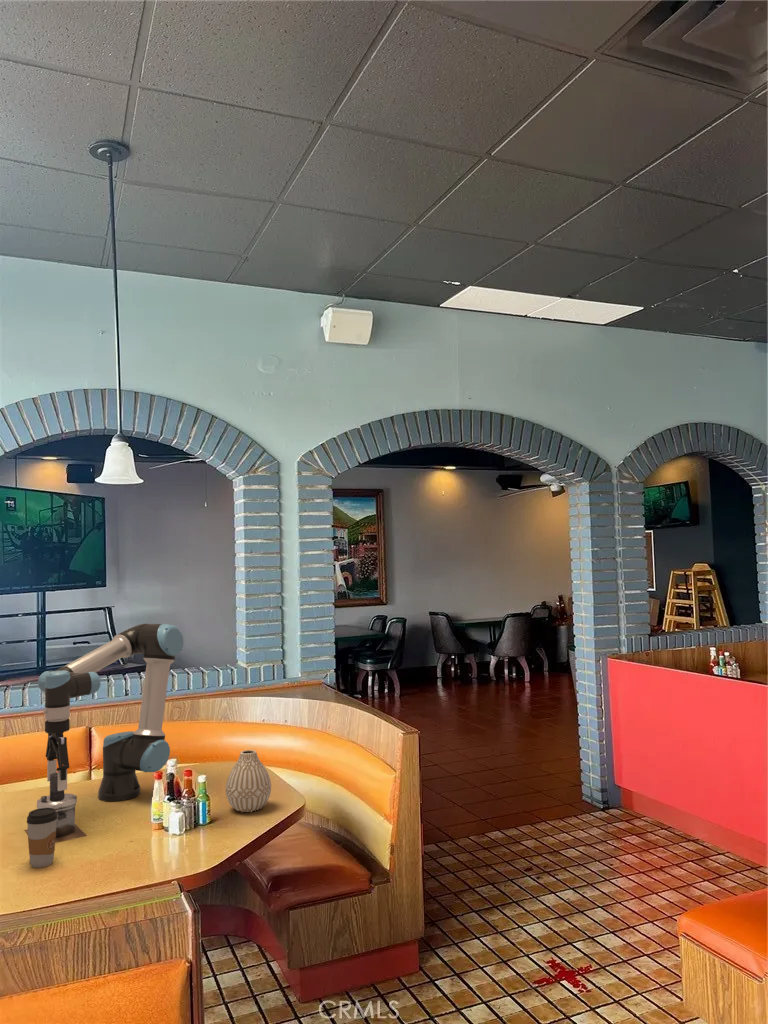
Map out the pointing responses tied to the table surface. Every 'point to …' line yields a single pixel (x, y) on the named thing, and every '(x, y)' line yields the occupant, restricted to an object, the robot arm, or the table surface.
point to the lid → (56, 796)
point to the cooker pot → (65, 821)
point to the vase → (248, 783)
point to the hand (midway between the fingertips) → (57, 785)
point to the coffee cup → (41, 836)
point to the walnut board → (75, 834)
